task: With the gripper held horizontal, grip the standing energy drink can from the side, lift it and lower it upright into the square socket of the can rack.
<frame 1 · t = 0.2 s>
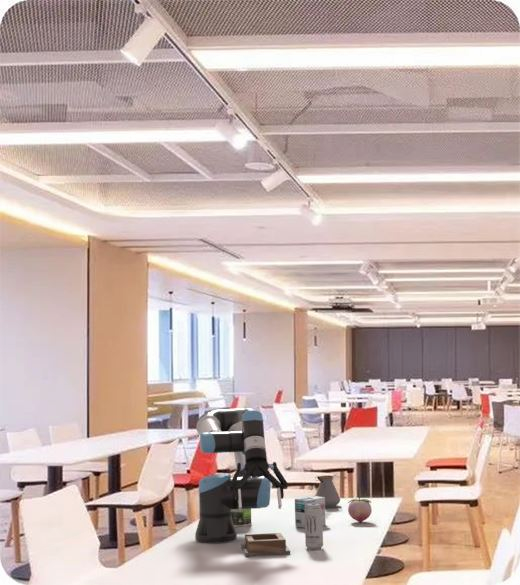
hand: (260, 507, 336), 15 cm above the table, tool tilted 35°, fingers open, 13 cm apart
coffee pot: (324, 508, 424), on the table
can rack: (265, 551, 338), on the table
light bulb box: (310, 526, 384), on the table
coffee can: (238, 525, 390), on the table
energy drink can: (314, 549, 340), on the table
decorative fruit: (360, 522, 388), on the table
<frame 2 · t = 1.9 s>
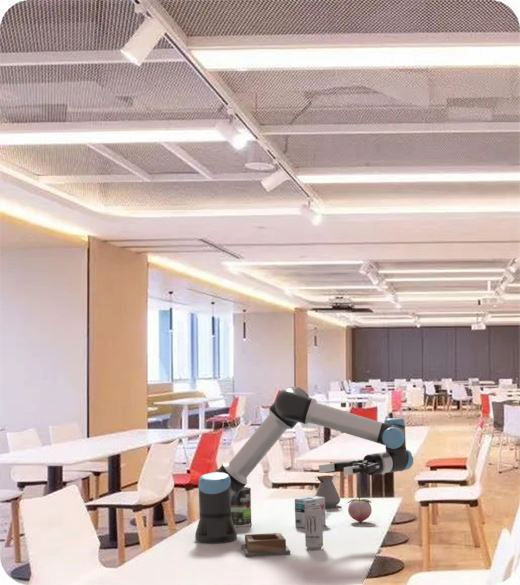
hand: (331, 470, 347), 26 cm above the table, tool horizontal, fingers open, 13 cm apart
nothing on the table moved.
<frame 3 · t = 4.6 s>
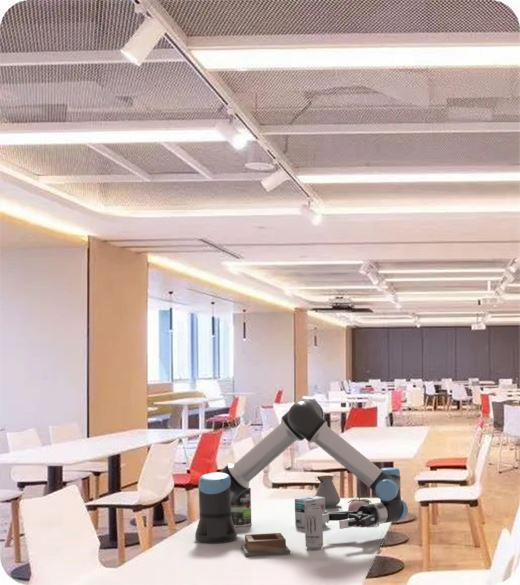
hand: (326, 522, 344), 8 cm above the table, tool horizontal, fingers open, 13 cm apart
nothing on the table moved.
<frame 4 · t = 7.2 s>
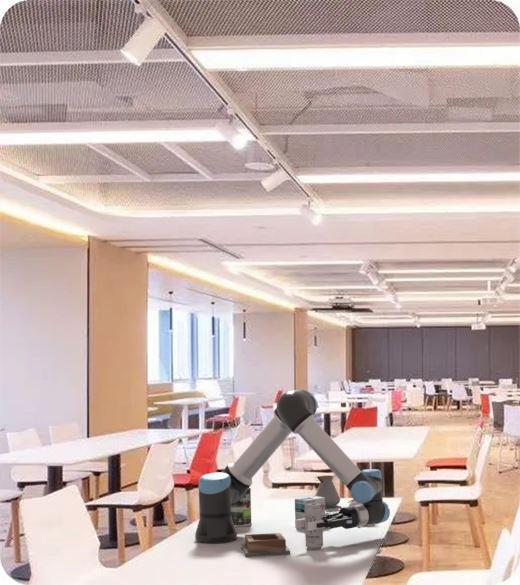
hand: (302, 525, 338), 9 cm above the table, tool horizontal, fingers closed on energy drink can, 6 cm apart
energy drink can: (314, 549, 340), on the table, touching gripper
everything else where it was.
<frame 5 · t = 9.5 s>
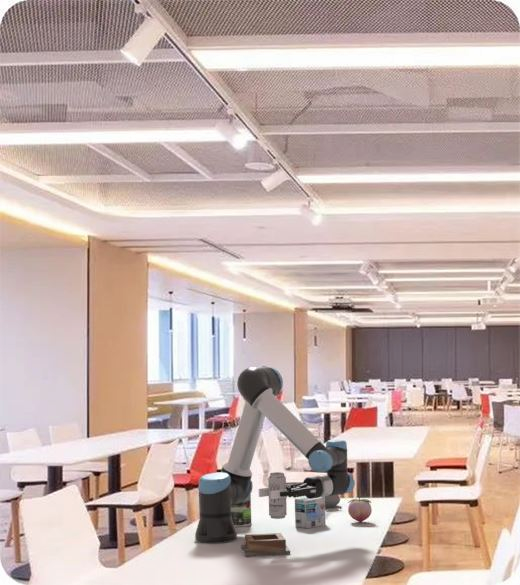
hand: (265, 494, 336), 20 cm above the table, tool horizontal, fingers closed on energy drink can, 6 cm apart
energy drink can: (277, 518, 339), point 11 cm above the table, touching gripper
everything else where it was.
when the fingers open (12 cm above the table, at t = 12.1 s): energy drink can drops 2 cm, resting on can rack.
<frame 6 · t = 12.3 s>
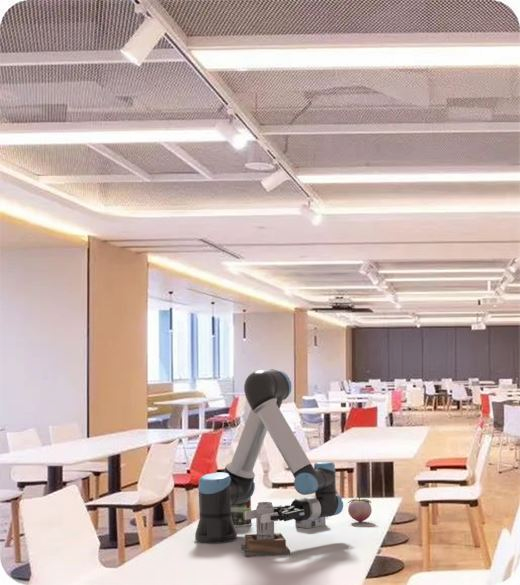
hand: (253, 517, 336), 12 cm above the table, tool horizontal, fingers open, 9 cm apart
energy drink can: (265, 548, 338), point 1 cm above the table, touching can rack
everything else where it was.
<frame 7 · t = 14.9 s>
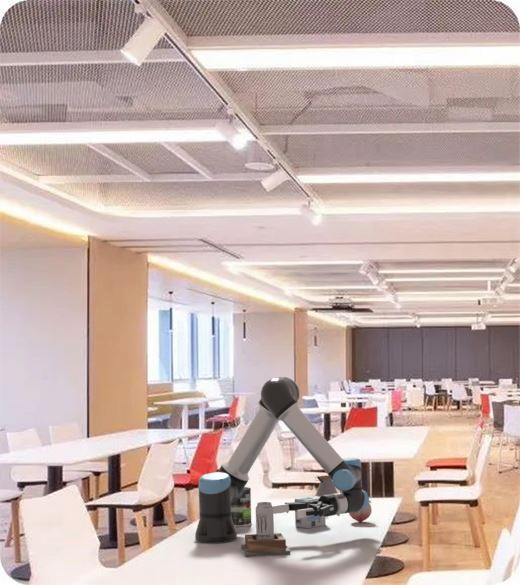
hand: (285, 512, 344), 12 cm above the table, tool horizontal, fingers open, 13 cm apart
nothing on the table moved.
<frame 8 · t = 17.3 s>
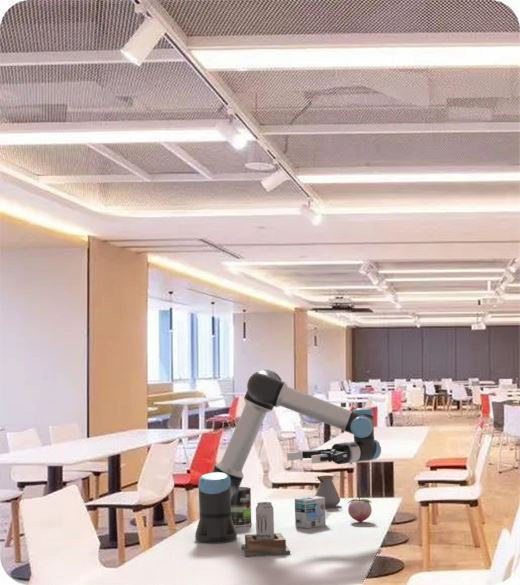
hand: (299, 458, 350), 30 cm above the table, tool horizontal, fingers open, 13 cm apart
nothing on the table moved.
at the end: energy drink can 0.1 cm off-centre on the can rack, point 1.0 cm above the can rack's base; energy drink can tilted 0°; the gripper is holding nothing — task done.
